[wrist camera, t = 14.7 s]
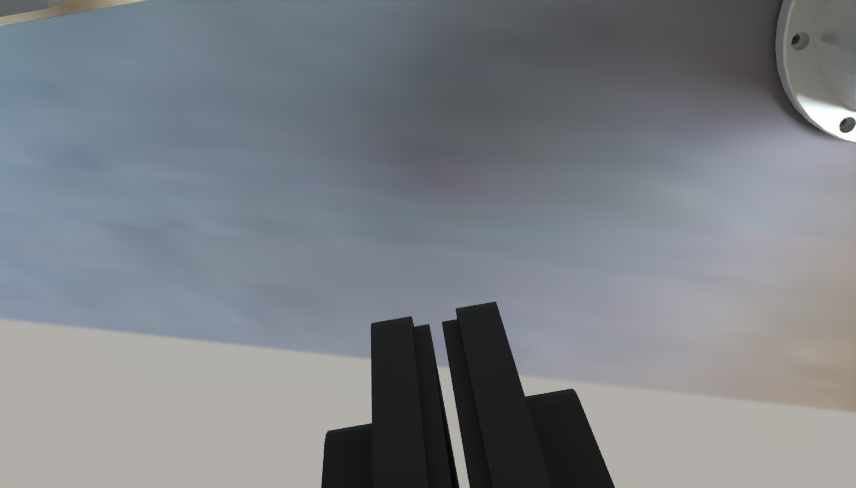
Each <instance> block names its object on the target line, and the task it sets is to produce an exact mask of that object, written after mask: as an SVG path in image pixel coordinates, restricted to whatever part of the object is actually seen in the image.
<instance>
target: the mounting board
mask: <svg viewBox="0 0 856 488" xmlns="http://www.w3.org/2000/svg"><path fill="white" fill-rule="evenodd" d="M140 1H146V0H67V1H65V2H63V3H60V4H58V5H56V6H53V7H51V8H48V9H43V10H37V11H31V12H26V13H20V14H14V15H9V16H3V17H0V26H4V25H9V24H15V23H21V22H26V21H32V20H38V19H43V18H49V17H55V16H61V15H66V14H72V13H78V12H83V11H89V10H95V9H100V8H106V7H112V6H118V5H123V4H129V3H135V2H140Z"/></svg>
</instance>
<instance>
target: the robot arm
mask: <svg viewBox="0 0 856 488" xmlns="http://www.w3.org/2000/svg"><path fill="white" fill-rule="evenodd" d="M794 36H795V39H794V41H793V42H792V39H793V37H794ZM775 51H776V62H777V70H778V73H779V76H780V80H781V83H782V86H783V89H784V91H785V93H786V94H787V96H788V98H789V100H790V101H791V103H792V105H793V106H794V108H795V109H796V110H797V111H798V112H799V113H800V114H801V115H802V116H803V117H804V118H805V119H806V120H807V121H808V122H810V123H811V124H813V125H814V126H816V127H818V128H819V129H821V130H822V131H824V132H826V133H828V134H830V135H832V136H834V137H836V138H838V139H841V140H844V141H848V142H853V143H856V0H783V3H782V7H781V10H780V14H779V18H778V21H777V31H776V42H775ZM456 314H457V319H456V320H450V321H445V322H442V326H443V331H444V337H445V343H446V349H447V355H448V361H449V367H450V373H451V378H452V385H453V391H454V396H455V402H456V408H457V414H458V420H459V426H460V432H461V438H462V443H463V449H464V456H465V462H466V467H467V474H468V479H469V485H470V488H615V487H614V484H613V482H612V479H611V477H610V474H609V472H608V470H607V467H606V465H605V462H604V460H603V457H602V455H601V452H600V450H599V447H598V445H597V442H596V440H595V437H594V435H593V432H592V430H591V428H590V425H589V422H588V420H587V418H586V415H585V413H584V410H583V408H582V405H581V403H580V400H579V398H578V396H577V394H576V392H575V391H574V390H573V389H567V390H562V391H556V392H550V393H544V394H538V395H532V396H527V397H525V395H524V392H523V389H522V386H521V382H520V379H519V376H518V372H517V369H516V366H515V362H514V359H513V356H512V352H511V349H510V346H509V343H508V339H507V336H506V333H505V329H504V326H503V323H502V320H501V316H500V313H499V310H498V306H497V304H496V302H491V303H485V304H479V305H474V306H468V307H462V308H456ZM371 366H372V367H371V369H372V370H371V373H372V374H371V375H372V423H371V424H365V425H359V426H354V427H348V428H342V429H337V430H330V431H328V432H327V434H326V438H325V444H324V459H323V472H322V486H321V488H459V483H458V478H457V472H456V467H455V462H454V456H453V451H452V445H451V440H450V434H449V429H448V424H447V419H446V413H445V407H444V402H443V397H442V391H441V385H440V380H439V375H438V369H437V364H436V358H435V353H434V347H433V342H432V337H431V331H430V326H429V324H427V325H421V326H416V327H414V324H413V320H412V317H411V316H410V317H404V318H399V319H393V320H387V321H381V322H376V323H372V324H371Z"/></svg>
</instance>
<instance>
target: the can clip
mask: <svg viewBox="0 0 856 488" xmlns="http://www.w3.org/2000/svg"><path fill="white" fill-rule="evenodd" d="M65 1H67V0H0V17H3V16H9V15H14V14H20V13H26V12H31V11H37V10H43V9H48V8H51V7H53V6H56V5H58V4H60V3H63V2H65Z"/></svg>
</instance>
